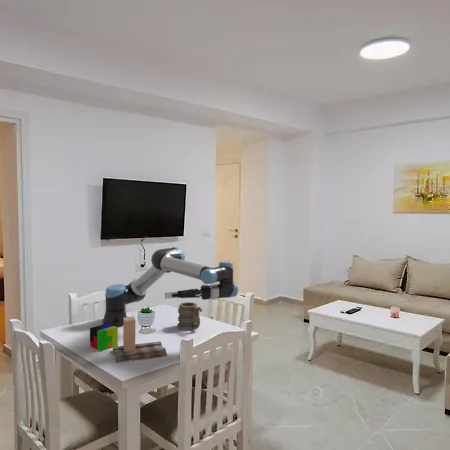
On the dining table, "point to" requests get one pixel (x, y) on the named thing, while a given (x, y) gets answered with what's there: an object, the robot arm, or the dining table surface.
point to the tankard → (188, 316)
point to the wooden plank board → (140, 352)
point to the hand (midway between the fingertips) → (165, 295)
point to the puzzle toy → (103, 337)
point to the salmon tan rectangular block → (129, 334)
